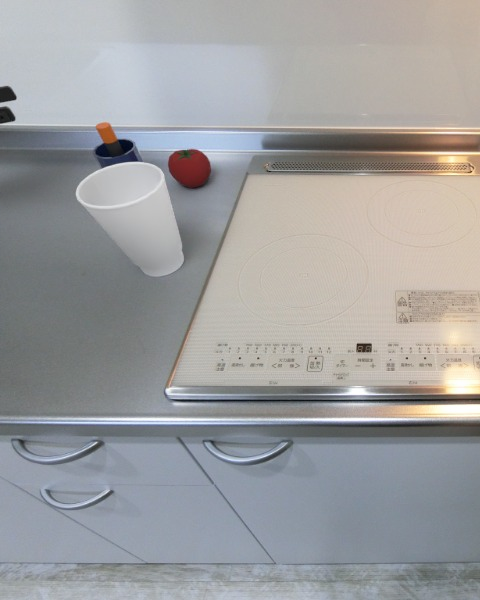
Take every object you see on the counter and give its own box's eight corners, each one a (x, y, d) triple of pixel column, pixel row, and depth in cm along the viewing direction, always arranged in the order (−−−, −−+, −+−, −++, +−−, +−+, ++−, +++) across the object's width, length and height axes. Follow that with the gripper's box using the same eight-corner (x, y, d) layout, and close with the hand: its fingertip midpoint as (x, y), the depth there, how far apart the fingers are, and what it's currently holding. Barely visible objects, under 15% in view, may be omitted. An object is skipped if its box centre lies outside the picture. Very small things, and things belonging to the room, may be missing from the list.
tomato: (216, 170, 95) (206, 139, 89) (211, 191, 89) (199, 160, 84) (178, 172, 94) (165, 141, 89) (170, 194, 89) (156, 162, 83)
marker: (122, 181, 91) (93, 125, 82) (134, 176, 92) (106, 120, 83) (128, 185, 89) (99, 129, 80) (139, 180, 91) (112, 125, 82)
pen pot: (105, 184, 91) (85, 148, 85) (141, 169, 95) (124, 134, 89) (123, 198, 87) (103, 162, 82) (158, 182, 91) (142, 147, 85)
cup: (171, 294, 70) (126, 214, 59) (110, 278, 73) (54, 198, 61) (212, 248, 78) (180, 168, 66) (156, 234, 80) (115, 155, 68)
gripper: (-141, 120, 61) (-4, 96, 66) (-121, 81, 69) (0, 63, 74) (-96, 167, 66) (27, 142, 72) (-83, 126, 74) (27, 107, 80)
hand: (13, 102), depth 73 cm, fingers open, 8 cm apart
